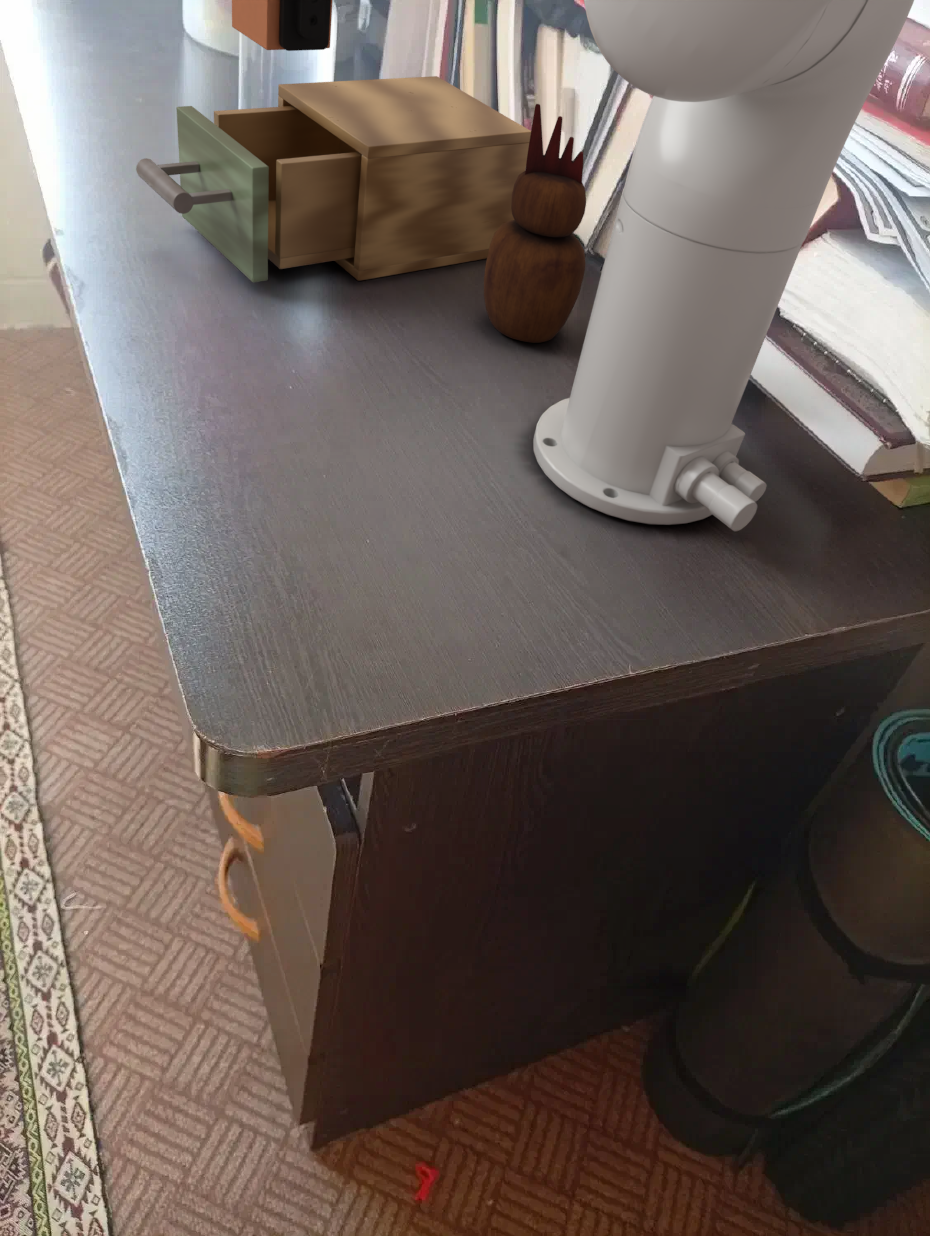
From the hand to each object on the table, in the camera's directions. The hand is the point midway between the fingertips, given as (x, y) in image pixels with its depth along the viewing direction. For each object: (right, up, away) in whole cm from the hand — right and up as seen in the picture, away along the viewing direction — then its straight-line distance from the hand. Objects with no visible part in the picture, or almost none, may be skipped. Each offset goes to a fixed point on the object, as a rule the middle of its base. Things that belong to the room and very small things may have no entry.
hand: (282, 31), depth 61 cm
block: (0, 0, 0) cm, 0 cm away
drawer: (-3, -8, +12) cm, 15 cm away
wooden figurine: (+16, -16, +10) cm, 24 cm away
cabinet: (+6, -6, +18) cm, 20 cm away
